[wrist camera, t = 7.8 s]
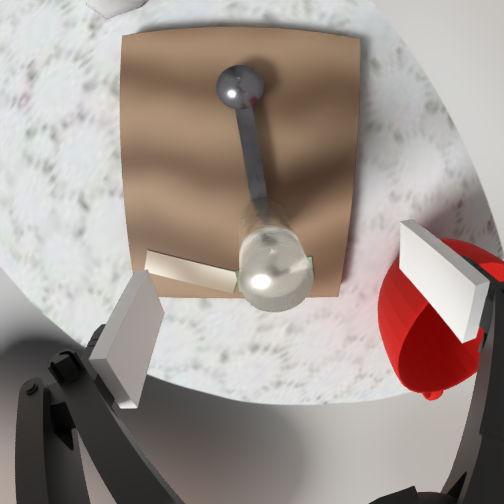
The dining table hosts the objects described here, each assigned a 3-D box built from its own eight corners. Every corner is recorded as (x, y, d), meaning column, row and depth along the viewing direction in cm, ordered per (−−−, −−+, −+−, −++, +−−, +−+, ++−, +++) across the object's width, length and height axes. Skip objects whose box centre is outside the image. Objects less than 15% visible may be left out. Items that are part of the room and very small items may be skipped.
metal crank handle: (210, 72, 20) (192, 40, 11) (261, 64, 20) (277, 27, 11) (249, 274, 26) (255, 355, 17) (292, 267, 26) (318, 344, 17)
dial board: (128, 39, 20) (121, 35, 18) (353, 42, 21) (360, 38, 19) (140, 287, 28) (136, 296, 27) (334, 288, 29) (338, 297, 28)
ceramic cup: (353, 366, 34) (380, 433, 25) (354, 226, 27) (406, 280, 18) (447, 339, 33) (486, 392, 24) (467, 208, 27) (533, 247, 18)
